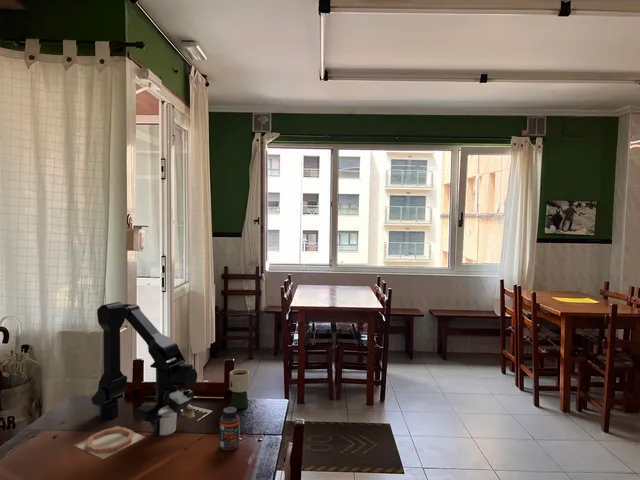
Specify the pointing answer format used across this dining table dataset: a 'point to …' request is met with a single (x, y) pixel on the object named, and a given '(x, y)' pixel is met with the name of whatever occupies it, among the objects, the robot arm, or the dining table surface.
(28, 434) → the dining table surface
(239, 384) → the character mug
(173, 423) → the shot glass
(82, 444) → the serving board
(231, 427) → the supplement bottle
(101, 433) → the coaster ring
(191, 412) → the dessert
